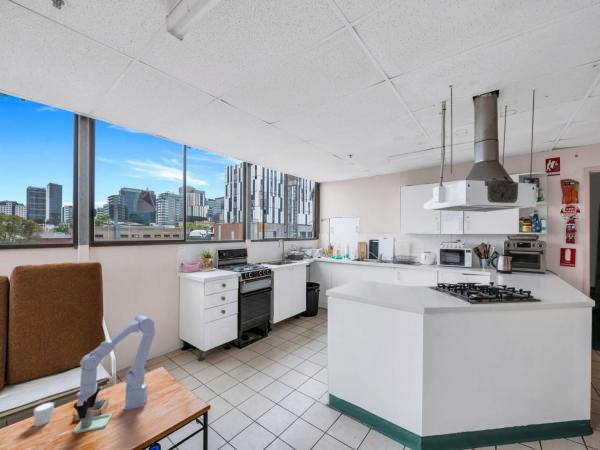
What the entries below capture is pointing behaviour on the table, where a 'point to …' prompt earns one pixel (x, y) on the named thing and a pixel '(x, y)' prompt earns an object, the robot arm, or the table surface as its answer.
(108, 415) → the parts tray
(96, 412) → the dish
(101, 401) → the pebble
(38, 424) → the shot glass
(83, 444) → the table surface
